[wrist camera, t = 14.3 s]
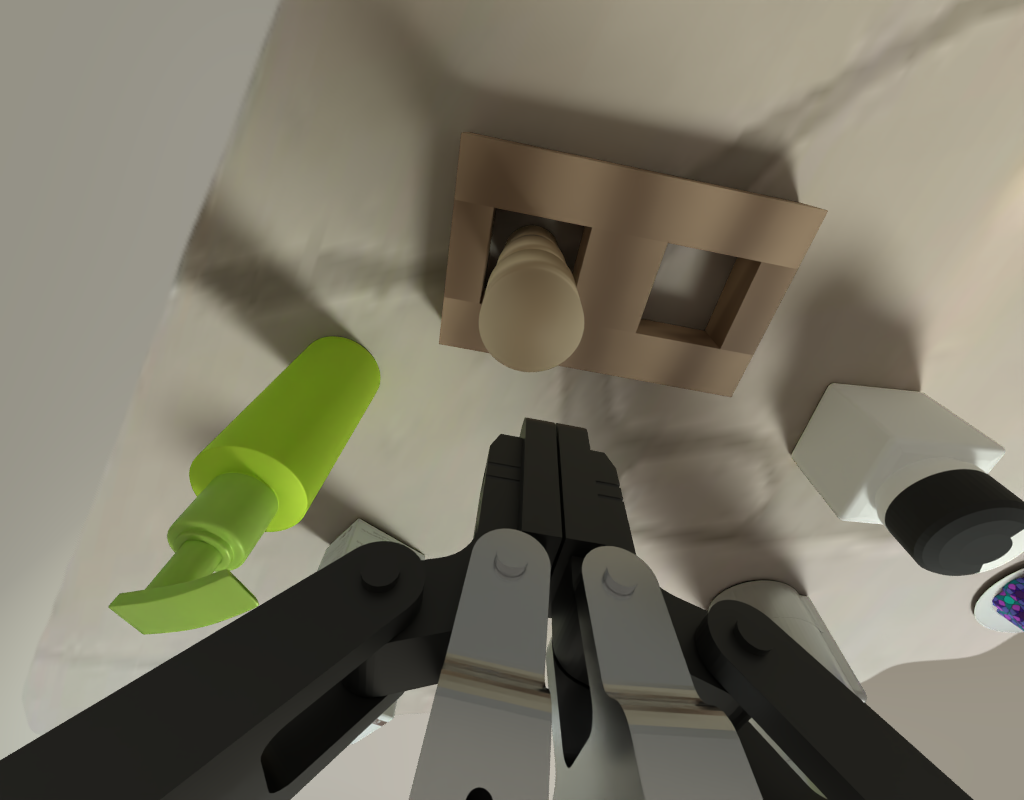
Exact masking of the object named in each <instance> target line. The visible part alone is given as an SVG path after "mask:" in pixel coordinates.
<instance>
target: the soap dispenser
mask: <svg viewBox="0 0 1024 800" xmlns="http://www.w3.org/2000/svg"><path fill="white" fill-rule="evenodd" d="M379 385H380V371H379V368H378V365H377V363H376V361H375V359H374V358H373V356H372V355H371V354H370V353H369V352H368V351H367V350H366V349H365V348H364V347H362V346H361V345H359V344H358V343H356V342H354V341H352V340H349V339H347V338H343V337H335V336H330V337H324V338H320V339H318V340H316V341H314V342H313V343H311V344H310V345H309V346H308V347H307V348H306V349H305V350H304V351H303V352H302V353H301V354H300V355H299V356H298V357H297V358H296V359H295V360H294V361H293V362H292V363H291V364H290V365H289V366H288V367H287V368H286V369H285V370H284V371H283V372H282V373H281V374H280V375H279V376H278V377H277V378H276V379H275V380H274V381H273V382H272V383H271V384H270V385H269V386H268V387H267V388H266V389H265V390H264V391H263V392H262V393H261V394H260V395H259V396H258V397H257V398H255V399H254V400H253V401H252V402H251V403H250V404H249V405H248V406H247V407H246V408H245V409H244V410H243V411H242V412H241V413H240V414H239V415H238V416H237V417H236V418H235V419H234V420H233V421H232V422H231V423H230V424H229V425H228V426H227V427H226V428H225V429H224V430H223V431H222V432H221V433H220V434H219V435H218V436H217V437H216V438H215V439H214V440H213V441H212V442H211V443H210V444H209V445H208V446H207V447H206V448H205V449H204V450H203V451H202V452H201V453H200V454H199V455H198V456H197V457H196V458H195V459H194V461H193V462H192V464H191V467H190V472H189V478H190V483H191V486H192V489H193V491H194V493H195V494H196V496H197V498H196V499H195V500H194V501H193V502H192V503H191V504H190V505H189V507H188V508H187V509H186V510H185V511H184V512H183V513H182V514H181V515H180V517H179V518H178V519H177V520H176V521H175V522H174V523H173V524H172V526H171V527H170V529H169V531H168V534H167V538H168V543H169V545H170V547H171V548H172V550H173V551H174V552H175V554H174V555H173V556H172V558H171V559H170V560H169V561H168V562H167V564H166V565H165V566H164V567H163V568H162V570H161V571H160V572H159V573H158V574H157V576H156V577H155V578H154V579H153V580H152V582H151V583H150V584H149V585H148V586H147V588H146V589H145V590H140V591H134V592H127V593H121V594H119V595H118V596H117V597H116V598H115V599H114V601H113V602H112V603H111V604H110V605H109V606H108V607H109V608H110V609H111V610H112V611H114V612H115V613H116V614H118V615H119V616H120V617H121V618H123V619H124V620H125V621H127V622H128V623H129V624H130V625H132V626H133V627H134V628H136V629H137V630H138V631H139V632H141V633H142V634H158V633H169V632H178V631H185V630H191V629H196V628H200V627H204V626H208V625H211V624H215V623H218V622H221V621H224V620H226V619H229V618H232V617H234V616H237V615H239V614H242V613H244V612H247V611H249V610H251V609H253V608H255V607H257V606H258V605H259V603H258V600H257V599H256V597H255V596H254V595H253V594H252V593H251V592H250V591H249V590H248V589H247V588H246V587H245V586H244V585H243V584H242V583H241V582H240V581H239V580H238V579H237V578H236V577H235V576H234V575H233V574H232V573H231V572H230V570H234V569H236V568H238V567H240V566H241V565H242V564H243V563H244V561H245V560H246V559H247V557H248V556H249V554H250V553H251V551H252V550H253V548H254V547H255V545H256V544H257V542H258V541H259V539H260V538H261V536H262V534H263V533H264V532H275V531H281V530H285V529H288V528H290V527H292V526H294V525H296V524H297V523H298V522H300V521H301V520H302V518H303V517H304V515H305V514H306V512H307V510H308V509H309V507H310V505H311V503H312V502H313V500H314V498H315V497H316V495H317V493H318V491H319V490H320V488H321V486H322V485H323V483H324V481H325V479H326V478H327V476H328V474H329V473H330V471H331V469H332V467H333V466H334V464H335V462H336V461H337V459H338V457H339V455H340V454H341V452H342V450H343V449H344V447H345V445H346V443H347V442H348V440H349V438H350V437H351V435H352V433H353V431H354V430H355V428H356V426H357V425H358V423H359V421H360V419H361V418H362V416H363V414H364V413H365V411H366V409H367V407H368V406H369V404H370V402H371V401H372V399H373V397H374V395H375V394H376V392H377V390H378V388H379ZM214 571H216V573H213V572H214ZM212 573H213V574H212Z"/></svg>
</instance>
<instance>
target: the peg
mask: <svg viewBox="0 0 1024 800" xmlns="http://www.w3.org/2000/svg"><path fill="white" fill-rule="evenodd" d="M479 331H480V336H481V339H482V341H483V343H484V345H485V347H486V349H487V350H488V352H489V353H490V354H491V355H492V356H493V357H494V358H495V359H496V360H497V361H499V362H500V363H502V364H503V365H505V366H507V367H509V368H512V369H514V370H518V371H523V372H539V371H544V370H548V369H551V368H553V367H555V366H557V365H559V364H561V363H562V362H564V361H565V360H566V359H567V358H569V357H570V356H571V355H572V353H573V352H574V351H575V350H576V348H577V347H578V345H579V343H580V341H581V338H582V335H583V331H584V313H583V309H582V305H581V302H580V298H579V294H578V291H577V287H576V284H575V280H574V277H573V275H572V273H571V271H570V269H569V268H568V266H567V265H566V262H565V259H564V256H563V254H562V252H561V251H560V249H559V248H558V244H557V241H556V240H555V238H554V236H553V235H552V234H551V233H550V232H549V231H548V230H546V229H544V228H542V227H539V226H534V225H529V226H524V227H521V228H519V229H517V230H516V231H514V232H513V233H512V234H511V235H510V236H509V238H508V239H507V241H506V243H505V246H504V249H503V251H502V252H501V254H500V256H499V259H498V261H497V265H496V267H495V268H494V270H493V271H492V273H491V275H490V278H489V281H488V284H487V288H486V291H485V295H484V299H483V302H482V306H481V310H480V314H479Z"/></svg>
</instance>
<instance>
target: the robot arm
mask: <svg viewBox="0 0 1024 800" xmlns="http://www.w3.org/2000/svg"><path fill="white" fill-rule="evenodd" d="M619 486H620V484H619V480H618V475H617V471H616V468H615V467H614V465H613V464H612V463H611V461H610V460H609V458H608V457H607V456H606V454H605V453H603V452H597V451H592V450H590V445H589V439H588V433H587V429H585V428H580V427H575V426H569V425H564V424H558V423H556V424H555V423H552V422H547V421H542V420H536V419H531V418H525V419H524V422H523V425H522V429H521V433H520V437H515V436H509V435H504V434H500V435H499V436H498V438H497V439H496V440H495V441H494V442H493V443H492V444H491V445H490V449H489V454H488V458H487V463H486V468H485V473H484V478H483V483H482V487H481V492H480V499H479V505H478V512H477V518H476V525H475V531H474V537H473V540H472V542H471V543H470V544H469V545H468V546H467V547H466V548H464V549H463V550H461V551H460V552H458V553H456V554H453V555H450V556H447V557H442V558H435V559H427V560H421V559H420V558H419V556H418V555H417V554H416V553H415V552H414V551H413V550H411V549H410V548H408V547H407V546H405V545H402V544H399V543H396V542H391V541H377V542H372V543H368V544H365V545H362V546H360V547H358V548H356V549H354V550H352V551H351V552H349V553H347V554H346V555H344V556H342V557H341V558H339V559H337V560H336V561H334V562H332V563H331V564H329V565H327V566H325V567H324V568H322V569H320V570H319V571H317V572H315V573H314V574H312V575H310V576H309V577H307V578H305V579H304V580H302V581H300V582H299V583H297V584H295V585H294V586H292V587H290V588H289V589H287V590H285V591H284V592H282V593H280V594H279V595H277V596H275V597H273V598H272V599H270V600H268V601H267V602H265V603H263V604H262V605H260V606H258V607H257V608H255V609H253V610H252V611H250V612H248V613H247V614H245V615H243V616H242V617H240V618H238V619H237V620H235V621H233V622H232V623H230V624H228V625H227V626H225V627H223V628H221V629H220V630H218V631H216V632H215V633H213V634H211V635H210V636H208V637H206V638H205V639H203V640H201V641H200V642H198V643H196V644H195V645H193V646H191V647H190V648H188V649H186V650H185V651H183V652H181V653H180V654H178V655H176V656H174V657H173V658H171V659H169V660H168V661H166V662H164V663H163V664H161V665H159V666H158V667H156V668H154V669H153V670H151V671H149V672H148V673H146V674H144V675H143V676H141V677H139V678H138V679H136V680H134V681H133V682H131V683H129V684H128V685H126V686H124V687H122V688H121V689H119V690H117V691H116V692H114V693H112V694H111V695H109V696H107V697H106V698H104V699H102V700H101V701H99V702H97V703H96V704H94V705H92V706H91V707H89V708H87V709H86V710H84V711H82V712H81V713H79V714H77V715H76V716H74V717H72V718H70V719H69V720H67V721H65V722H64V723H62V724H60V725H59V726H57V727H55V728H54V729H52V730H50V731H49V732H47V733H45V734H44V735H42V736H40V737H39V738H37V739H35V740H34V741H32V742H30V743H29V744H27V745H25V746H24V747H22V748H20V749H18V750H17V751H15V752H13V753H12V754H10V755H8V756H7V757H5V758H3V759H2V760H0V800H290V799H291V798H292V797H294V796H295V795H296V794H297V793H298V792H299V791H300V790H301V789H302V788H303V787H304V786H305V785H306V784H307V783H309V782H310V781H311V780H312V779H313V778H314V777H315V776H316V775H317V774H318V773H319V772H320V771H321V770H322V769H324V768H325V767H326V766H327V765H328V764H329V763H330V762H331V761H332V760H333V759H334V758H335V757H336V756H337V755H339V753H341V752H342V751H343V750H344V749H345V748H346V747H347V746H348V745H349V744H350V743H351V742H352V741H354V740H355V739H356V738H357V737H358V736H359V735H360V734H361V733H362V732H363V731H364V730H365V729H366V728H367V727H369V726H370V725H371V724H372V723H373V722H374V721H375V720H376V719H377V718H378V717H379V716H380V715H381V714H382V713H384V712H385V711H386V710H387V709H388V708H389V707H390V706H391V705H392V704H393V703H394V702H395V701H396V700H397V699H398V698H399V697H400V696H401V695H402V694H403V693H404V691H407V690H412V689H416V688H421V687H425V686H430V685H434V684H438V685H437V689H436V693H435V697H434V701H433V705H432V709H431V713H430V718H429V721H428V725H427V729H426V733H425V737H424V741H423V745H422V749H421V753H420V757H419V761H418V765H417V769H416V773H415V777H414V781H413V785H412V789H411V793H410V797H409V800H548V799H549V775H550V750H551V725H552V732H553V743H554V755H555V768H556V779H555V789H554V795H553V800H973V799H972V798H971V797H970V796H969V795H967V794H966V793H965V792H964V791H963V790H962V789H961V788H960V787H959V786H957V785H956V784H955V783H954V782H953V781H952V780H951V779H950V778H949V777H947V776H946V775H945V774H944V773H943V772H942V771H941V770H939V769H938V768H937V767H936V766H935V765H934V764H933V763H932V762H931V761H929V760H928V759H927V758H926V757H925V756H924V755H923V754H922V753H920V752H919V751H918V750H917V749H916V748H915V747H914V746H913V745H912V744H910V743H909V742H908V741H907V740H906V739H905V738H904V737H903V736H901V735H900V734H899V733H898V732H897V731H896V730H895V729H893V728H892V727H891V726H890V725H889V724H888V723H887V722H886V721H885V720H883V719H882V718H881V717H880V716H879V715H878V714H877V713H876V712H874V711H873V710H872V709H871V708H870V707H869V706H868V705H867V704H866V703H865V702H866V700H867V696H866V693H865V691H864V690H863V688H862V686H861V685H860V683H859V681H858V679H857V678H856V676H855V674H854V673H853V671H852V669H851V668H850V666H849V664H848V662H847V661H846V659H845V657H844V656H843V654H842V652H841V651H840V649H839V647H838V645H837V644H836V642H835V640H834V639H833V637H832V635H831V634H830V632H829V630H828V629H827V627H826V625H825V623H824V622H823V620H822V618H821V617H820V615H819V613H818V612H817V610H816V608H815V606H814V605H813V603H812V601H811V600H810V598H809V597H807V596H802V595H800V594H799V593H798V592H797V591H796V590H795V589H794V588H792V587H790V586H789V585H787V584H784V583H781V582H776V581H764V580H760V581H751V582H746V583H742V584H739V585H736V586H733V587H731V588H729V589H727V590H725V591H723V592H722V593H721V594H719V595H718V596H717V597H716V598H715V599H714V600H713V601H712V602H711V604H710V606H709V609H708V611H706V610H704V609H701V608H699V607H697V606H695V605H693V604H691V603H688V602H686V601H684V600H682V599H680V598H678V597H675V596H673V595H672V594H670V593H668V592H666V591H665V590H663V589H662V588H660V586H659V583H658V581H657V579H656V576H655V575H654V573H653V571H652V570H651V569H650V567H649V566H648V565H647V564H646V563H645V562H644V561H643V560H642V559H640V558H639V557H638V556H636V553H635V548H634V544H633V540H632V535H631V531H630V527H629V523H628V518H627V514H626V510H625V505H624V502H622V500H623V497H622V492H621V488H619ZM548 618H552V637H551V640H550V642H549V645H548V647H547V652H546V641H547V624H548ZM545 659H546V665H547V676H548V687H549V689H547V688H546V686H545Z"/></svg>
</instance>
